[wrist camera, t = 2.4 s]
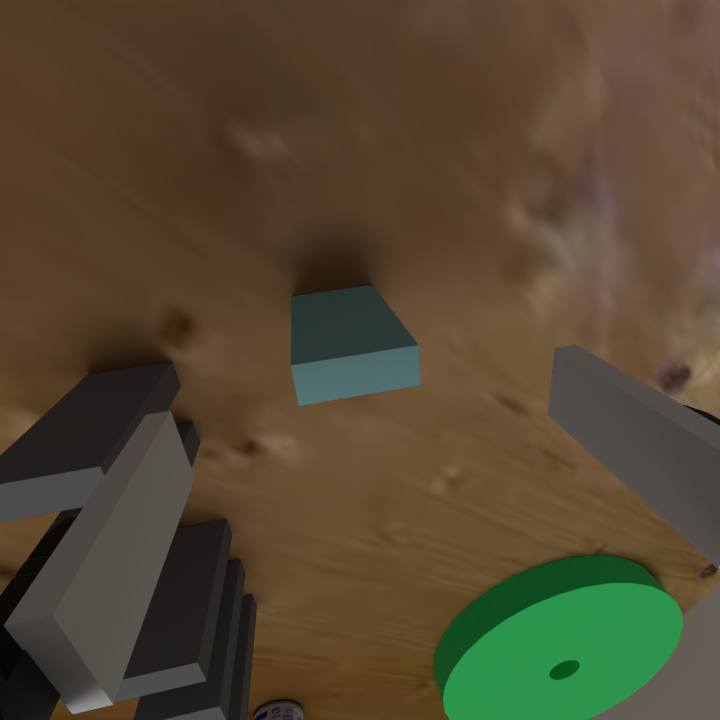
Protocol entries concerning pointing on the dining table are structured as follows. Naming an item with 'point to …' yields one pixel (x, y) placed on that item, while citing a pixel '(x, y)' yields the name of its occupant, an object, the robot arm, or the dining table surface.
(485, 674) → the disc
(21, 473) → the domino
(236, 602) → the domino
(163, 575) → the domino
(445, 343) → the dining table surface
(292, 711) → the energy drink
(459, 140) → the dining table surface
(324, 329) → the teal domino
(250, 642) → the domino
